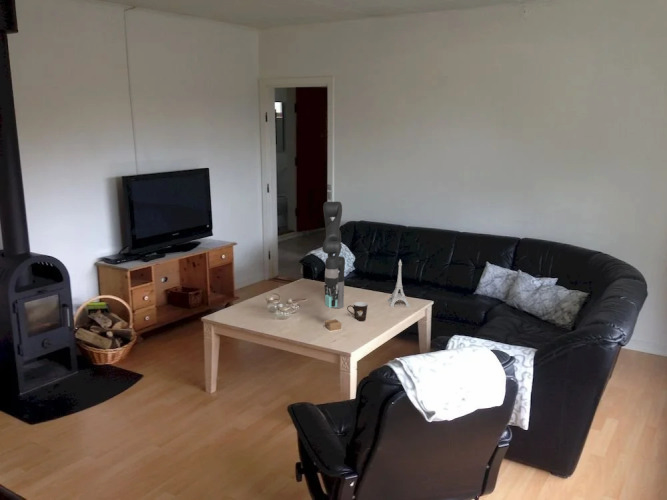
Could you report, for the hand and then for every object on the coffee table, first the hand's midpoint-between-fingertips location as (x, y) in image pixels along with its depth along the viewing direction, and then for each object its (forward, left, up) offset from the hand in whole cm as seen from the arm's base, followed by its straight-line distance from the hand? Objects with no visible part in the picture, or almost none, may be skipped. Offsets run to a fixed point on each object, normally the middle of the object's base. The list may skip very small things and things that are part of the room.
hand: (331, 304), depth 342 cm
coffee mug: (-10, +24, -16) cm, 30 cm away
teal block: (0, 0, -1) cm, 1 cm away
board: (-2, +1, -15) cm, 16 cm away
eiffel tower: (-26, +64, -16) cm, 71 cm away
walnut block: (+1, +1, -14) cm, 14 cm away
